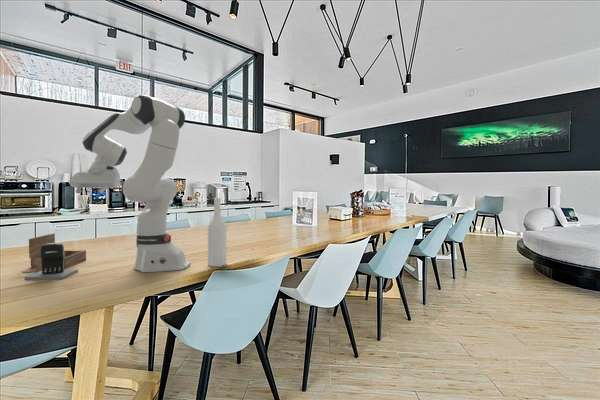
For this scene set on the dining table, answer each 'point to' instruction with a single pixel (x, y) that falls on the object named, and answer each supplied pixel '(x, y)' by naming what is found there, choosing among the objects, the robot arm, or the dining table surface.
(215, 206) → the bottle
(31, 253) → the wooden box
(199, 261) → the dining table surface
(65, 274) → the mat
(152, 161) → the robot arm
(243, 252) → the dining table surface
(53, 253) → the battery charger
